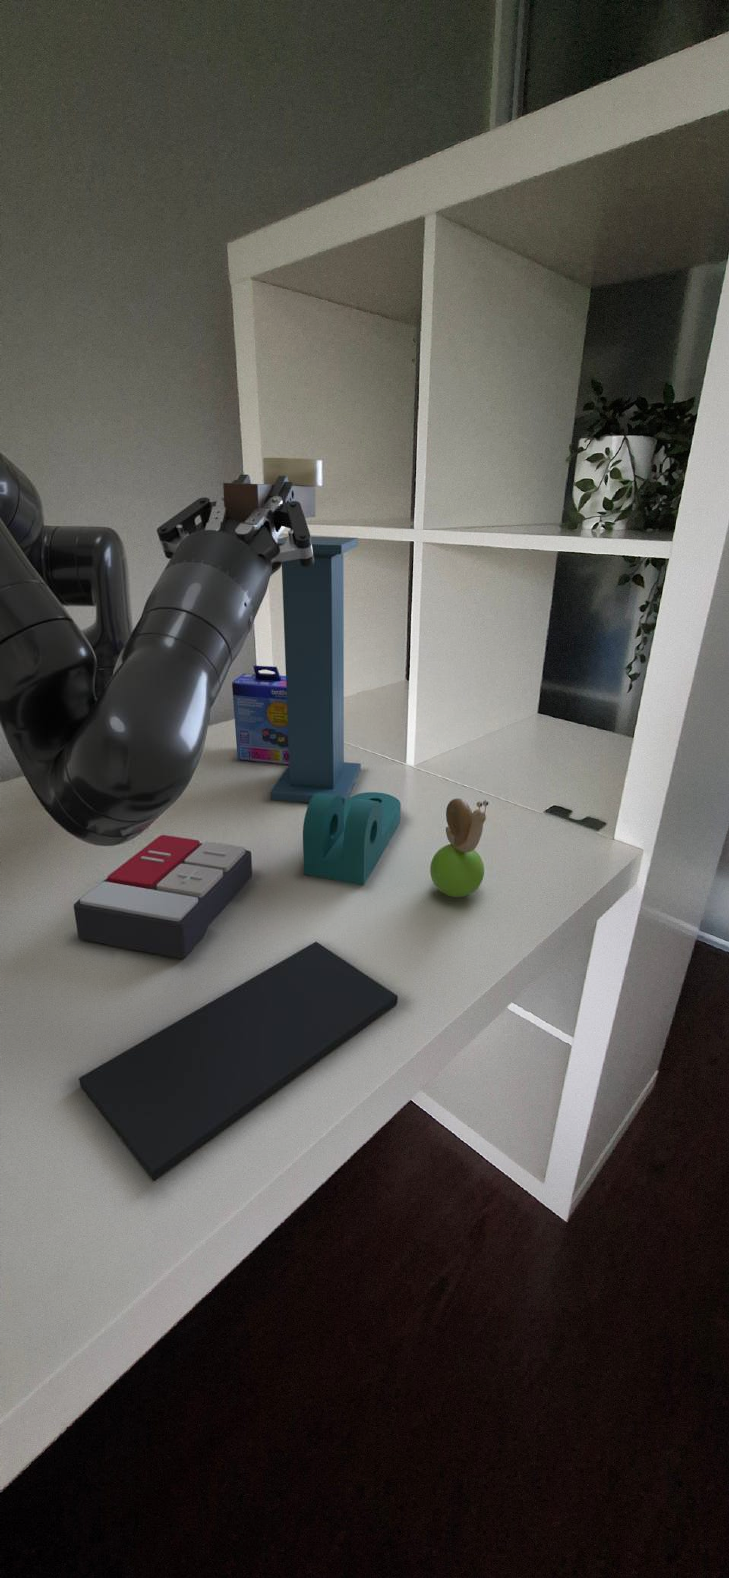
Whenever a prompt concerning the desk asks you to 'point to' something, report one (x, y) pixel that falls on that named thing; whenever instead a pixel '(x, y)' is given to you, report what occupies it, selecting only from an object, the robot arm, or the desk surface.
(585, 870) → the desk surface
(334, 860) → the bracket
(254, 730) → the ink cartridge box
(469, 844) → the snail figurine
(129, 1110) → the rubber mat
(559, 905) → the desk surface
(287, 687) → the stand
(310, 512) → the tape bar
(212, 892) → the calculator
